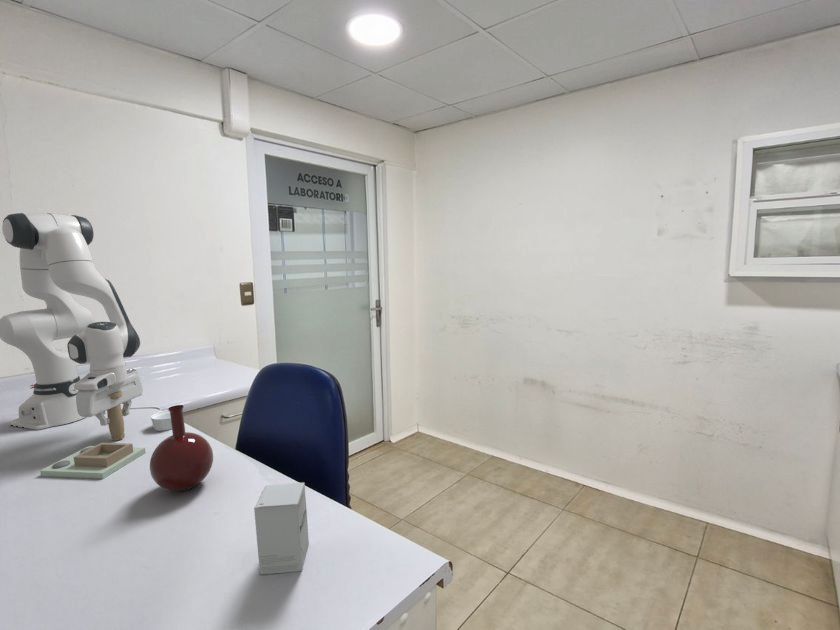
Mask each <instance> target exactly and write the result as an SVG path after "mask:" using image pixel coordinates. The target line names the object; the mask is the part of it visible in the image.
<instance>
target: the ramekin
mask: <svg viewBox="0 0 840 630" xmlns="http://www.w3.org/2000/svg"><path fill="white" fill-rule="evenodd" d="M150 420H151V422H152V427H153V429H154V430H155V431H158V432H164V431H169V430H172V424H171V416H170V411H169V410H168V409H165V410H161V411H158V412H155V413H154V414H152V415H150Z"/></svg>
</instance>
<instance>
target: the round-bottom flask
mask: <svg viewBox="0 0 840 630" xmlns="http://www.w3.org/2000/svg"><path fill="white" fill-rule="evenodd" d="M167 410H169V411H170V416H171V424H172V429H171V430H172V431H171V432H172V435H170V436H168V437H166V438H164V439H163V440H162V441H160V443H159V444H158V445H157V446H156V447H155V448H154V450H153V452H152V454H151V457H150V460H149V472H150V473H149V474H150V475H151V478H152V480H153V481H154V482H155V484H156V485H158V487H160V488H162V489H164V490H165V491H166V490H167V491H170V492H182V491H187V490H191V489H192V488H194V487H196V486H198V485H199V484H200V483H202V481H204V480H205V478H206V477H207V476H208V475H209V473H210V471H211V469H212V466H213V463H214V452H213V447H212V446H211V444H210V443H209V441H208V440H207V439H206V438H205V437H203V436H202V435H200V434H197V433H195V432H189V431H187V432H186V427H185V418H184V405H182V404H176V405H172V406H170V407H168V409H167Z"/></svg>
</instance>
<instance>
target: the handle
mask: <svg viewBox="0 0 840 630" xmlns="http://www.w3.org/2000/svg"><path fill="white" fill-rule="evenodd" d="M108 396H110V399H113V400H115V399H118V398H119V397H121V396H122V391H118V392H116V393H113V394H110V395H108ZM106 412H107V413H106V415H107V418H109V421H110V423H109V424H107V425H108V430H109V433H110V438H111V441H115V442H116V441H121V440H123V439H124V438H125V435H126V434H125V422H124V421H125V419H124V416H123V415H122V407H121V404H120V405H117V406H115V407H113V408H111V409H108V410H106Z"/></svg>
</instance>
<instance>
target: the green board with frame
mask: <svg viewBox="0 0 840 630" xmlns="http://www.w3.org/2000/svg"><path fill="white" fill-rule="evenodd" d="M146 453H147V452H146V447H135V446H134V445H133V443H126V442H125V443H119V442H116V443H115V442H100V443H98V444H96V445H88V446H86V447H84V448H82V449H80V450H78V451H76V452H74V453H72V454H70V455H68V456H66V457H64V458H62V459H59V460H58V461H56V462H54V463H52V464H50V465H48V466H46V467H44V468H43V469H41V470H39V472H40V476H41V477H51V478H52V477H57V478H74V479H75V478H76V479H78V478H79V479H82V478H83V479H102V480H104V479H105V478H107V477H109V476H111V475H112V474H114V473H115V472H117V471H118V470H120V469H122V468H123V467H125V466H127V465H129V464H131V461H132V462H134V461H135V460H136V459H138V458H140V457H141V456H143V455H145V454H146Z"/></svg>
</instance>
